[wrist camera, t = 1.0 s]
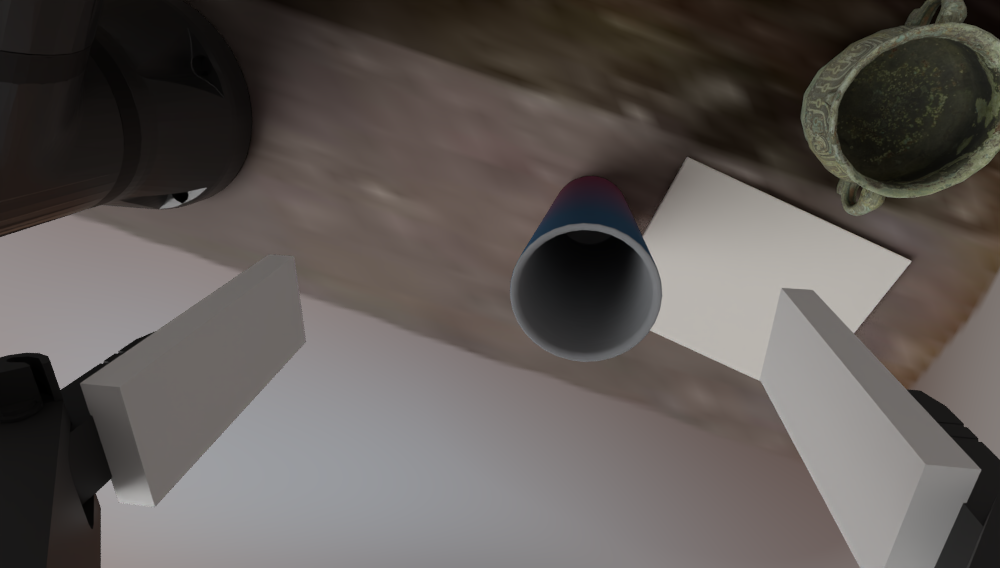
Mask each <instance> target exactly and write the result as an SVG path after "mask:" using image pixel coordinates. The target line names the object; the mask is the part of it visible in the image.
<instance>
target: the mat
mask: <svg viewBox="0 0 1000 568" xmlns="http://www.w3.org/2000/svg"><path fill="white" fill-rule="evenodd" d="M642 237H643V239H644V241H645V243H646V245H647V247H648V249H649V252H650V254H651V256H652V258H653V260H654V262H655V264H656V267H657V269H658V272H659V276H660V279H661V285H662V300H661V307H660V311H659V314H658V316H657V319H656V321H655V323H654V325H653V326H652V328H651V329H650V331H652V332H654V333H657V334H659V335H661V336H663V337H665V338H668V339H670V340H672V341H674V342H676V343H678V344H681V345H683V346H685V347H687V348H689V349H691V350H694V351H696V352H698V353H700V354H702V355H704V356H707V357H709V358H711V359H713V360H715V361H718V362H720V363H722V364H724V365H726V366H728V367H731V368H733V369H735V370H737V371H739V372H741V373H744V374H746V375H748V376H750V377H752V378H754V379H757V380H759V381H760V377H761V372H762V368H763V364H764V360H765V355H766V351H767V347H768V343H769V338H770V334H771V330H772V326H773V321H774V317H775V313H776V309H777V304H778V300H779V296H780V292H781V288H792V289H807V290H813V291H814V292H815V293H816V294H817V295H818V296H819V297H820V298H821V299H822V300H823V301H824V302H825V303H826V304H827V305H828V307H829V308H830V309H831V310H832V311H833V312H834V313H835V314H836V315H837V316H838V317H839V318H840V319H841V320H842V321H843V323H844V324H845V325H846V326H847V327H848V328H849V329H850V330H851V331H852V332H853V333H855V331H856V330H857V329H858V328H859V326H860V325H861V324H862V323H863V321H864V320H865V319H866V318H867V316H868V315H869V314H870V313H871V311H872V310H873V309H874V308H875V306H876V305H877V304H878V303H879V301H880V300H881V299H882V298H883V296H884V295H885V294H886V293H887V291H888V290H889V289H890V288H891V286H892V285H893V284H894V283H895V281H896V280H897V279H898V278H899V277H900V275H901V274H902V273H903V272H904V270H905V269H906V268H907V267H908V265H909V264H910V263H911V262H912V261H911V260H909V259H907V258H905V257H903V256H901V255H899V254H896V253H894V252H892V251H890V250H888V249H886V248H884V247H881V246H879V245H877V244H875V243H873V242H871V241H868V240H866V239H864V238H862V237H860V236H858V235H855V234H853V233H851V232H849V231H847V230H845V229H842V228H840V227H838V226H836V225H834V224H832V223H829V222H827V221H825V220H823V219H821V218H819V217H817V216H814V215H812V214H810V213H808V212H806V211H804V210H801V209H799V208H797V207H795V206H793V205H791V204H788V203H786V202H784V201H782V200H780V199H778V198H775V197H773V196H771V195H769V194H767V193H765V192H763V191H760V190H758V189H756V188H754V187H752V186H750V185H747V184H745V183H743V182H741V181H739V180H737V179H734V178H732V177H730V176H728V175H726V174H724V173H721V172H719V171H717V170H715V169H713V168H711V167H708V166H706V165H704V164H702V163H700V162H698V161H696V160H693V159H691V158H689V157H686V159H685V161H684V163H683V164H682V166H681V168H680V170H679V172H678V173H677V175H676V177H675V179H674V180H673V182H672V184H671V186H670V188H669V189H668V191H667V193H666V195H665V196H664V198H663V200H662V202H661V204H660V205H659V207H658V209H657V211H656V212H655V214H654V216H653V218H652V220H651V221H650V223H649V225H648V227H647V228H646V230H645V232H644V234H643V236H642Z"/></svg>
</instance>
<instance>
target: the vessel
mask: <svg viewBox="0 0 1000 568" xmlns="http://www.w3.org/2000/svg"><path fill="white" fill-rule="evenodd" d="M940 5H941V10H940V12H939V14H938V16H937V19H936V22H935V24H930V22H931V19H932V17H933V15H934V13H935V12H936V10H937V8H938V7H939V6H940ZM966 16H967V8H966V5H965V3H964V1H963V0H927V1H926V2H925V3H924V4H923V5H922V7H921V8H920V9H919V8H918V9H914V10H913V11H912V12H911V13H910V15H909V16H908V18H907V20H906V22H905V25H904V26H899V27H894V28H890V29H884V30H881V31H878V32H876V33H874V34H872V35H870V36H867V37H865V38H863V39H861V40H859V41H856V42H854V43H852V44H850V45H849V46H848V47H847V48H846V49H845V50H843V51H842V52H841V53H840V54H838V55H837V56H836V57H835V58H833V59H832V60H831V61H830V62H828V63H827V64H826V65H825V66H824V67H822V68H821V69H820V70H819V71H818V72H817V73H816V75H815V77H814V78H813V80H812V81H811V83H810V85H809V86H808V88H807V90H806V91H805V93H804V97H803V103H802V110H801V116H800V118H801V122H802V126H803V130H804V135H805V138H806V140H807V141H808V144H809V148H810V149H811V150H812V151H813V153H814V154H815V155H816V157H817V158H818V159H819V160H820V162H821V163H822V164H823V166H824V167H825V168H826V169H827V170H828V171H829V172H831V173H832V174H834V175H835V176H837V177H838V178H840V179H839V182H838V184H837V193H838V194H840V195H841V201H842V205H843V208H844V210H845V211H846V212H847V213H849V214H851V215H854V216H860V215H863V214H866V213H868V212H870V211H873V210H875V209H877V208H879V207H880V206H881V205H882V204H883V203H884V200H885V197H886V196H887V197H894V198H911V197H919V196H925V195H930V194H933V193H936V192H938V191H941V190H943V189H946V188H948V187H951V186H953V185H956V184H958V183H960V182H963V181H964V180H966V179H967V178H969V177H970V176H971V175H973V174H974V173H976V172H977V171H979V170H980V169H981V168H983V167H984V166H986V165H987V164H988V163H989V162H990V161H991V160H992V158H993V157H994V156H995V155H996V154H997V153H998V151H999V150H1000V40H999V39H997V38H996V37H995V36H994V35H992V34H991V33H989V32H987V31H985V30H983V29H981V28H979V27H977V26H973V25H969V24H965V23H963V22H964V20H965V18H966ZM929 24H930V25H929ZM859 186H861V187H863V189H862V192H861V195H860V197H859V200H858V202H857V203H856V192H857V190H858V188H859Z"/></svg>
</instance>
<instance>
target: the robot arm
mask: <svg viewBox="0 0 1000 568" xmlns="http://www.w3.org/2000/svg"><path fill="white" fill-rule="evenodd" d="M251 129H252V116H251V105H250V99H249V94H248V90H247V87H246V83H245V80H244V77H243V75H242V72H241V70H240V67H239V65H238V63H237V61H236V59H235V57H234V55H233V53H232V52H231V50H230V48H229V47H228V45H227V44H226V42H225V41H224V39H223V38H222V37H221V35H220V34H219V33H218V32H217V30H216V29H215V28H214V27H213V26H212V25H211V24H210V23H209V22H208V21H207V20H206V19H205V18H204V17H203V16H202V15H201V14H200V13H199V12H197V11H196V10H195V9H194V8H192V7H191V6H190V5H188V4H187V3H185V2H184V1H182V0H0V237H2V236H5V235H8V234H11V233H14V232H17V231H21V230H23V229H27V228H30V227H33V226H36V225H39V224H42V223H45V222H49V221H52V220H55V219H58V218H61V217H65V216H68V215H71V214H74V213H77V212H80V211H83V210H86V209H89V208H93V207H96V206H99V205H108V206H121V207H134V208H147V209H172V208H179V207H183V206H186V205H189V204H192V203H195V202H198V201H201V200H204V199H206V198H209V197H211V196H213V195H215V194H216V193H218V192H219V191H221V190H222V189H224V188H225V187H226V186H227V185H228V184H229V183H230V182H231V181H232V180H233V179H234V177H235V176H236V175H237V173H238V172H239V170H240V168H241V166H242V165H243V162H244V160H245V158H246V155H247V152H248V148H249V144H250V138H251ZM305 342H306V340H305V331H304V324H303V317H302V309H301V302H300V294H299V287H298V279H297V272H296V265H295V257H294V256H285V255H267V256H266V257H264V258H263V259H261V260H260V261H258V262H257V263H255V264H254V265H253V266H251V267H250V268H248V269H247V270H245V271H244V272H242V273H241V274H239V275H238V276H237V277H235V278H233V279H232V280H231V281H229V282H228V283H226V284H225V285H223V286H222V287H220V288H219V289H217V290H216V291H214V292H213V293H211V294H210V295H209V296H207V297H206V298H204V299H203V300H201V301H200V302H198V303H197V304H195V305H194V306H192V307H191V308H190V309H188V310H187V311H185V312H184V313H182V314H181V315H179V316H178V317H176V318H175V319H173V320H172V321H170V322H169V323H168V324H166V325H165V326H163V327H162V328H160V329H159V330H158V331H155V332H153V333H150V334H148V335H146V336H144V337H141V338H139V339H136V340H135V341H133V342H132V343H130V344H129V345H127V346H126V347H124V348H123V349H121V350H120V351H119V353H118V354H114V355H112V356H111V357H109V358H108V359H106V360H105V361H104V363H103V364H99V365H97V366H96V367H94V368H93V369H91V370H90V371H88V372H87V373H85V374H84V375H82V376H81V377H79V378H78V379H76V380H75V381H73V382H72V383H70V384H69V385H68V386H66V387H65V388H63V389H61V390H60V388H59V385H58V382H57V380H56V377H55V374H54V371H53V368H52V365H51V362H50V360H49V358H48V356H45V355H42V354H40V353H22V354H14V355H8V356H4V357H1V358H0V568H101V566H100V565H101V564H100V563H101V558H100V557H101V556H100V555H101V553H100V552H101V549H100V548H101V546H100V545H101V542H100V541H101V508H100V505H99V501H98V499H97V496H96V492H97V491H98V490H99V489H100V488H102V486H104V485H105V484H106V483H107V482H108V481H109V480H110V479H111V480H112V483H113V486H114V489H115V492H116V496H117V498H118V502H119V503H126V504H134V505H143V506H151V507H155V506H156V505H157V504H158V503H159V502H160V501H161V500H162V499H163V498H164V497H165V495H166V494H167V493H168V492H169V491H170V490H171V489H172V488H173V487H174V485H175V484H176V483H177V482H178V481H179V480H180V479H181V478H182V477H183V476H184V475H185V473H186V472H187V471H188V470H189V469H190V468H191V467H192V466H193V465H194V464H195V463H196V462H197V460H198V459H199V458H200V457H201V456H202V455H203V454H204V453H205V452H206V451H207V449H208V448H209V447H210V446H211V445H212V444H213V443H214V442H215V441H216V440H217V439H218V437H219V436H220V435H221V434H222V433H223V432H224V431H225V430H226V429H227V428H228V426H229V425H230V424H231V423H232V422H233V421H234V420H235V419H236V418H237V416H239V414H240V413H241V412H242V411H243V410H244V409H245V408H246V407H247V406H248V405H249V404H250V402H251V401H252V400H253V399H254V398H255V397H256V396H257V395H258V394H259V393H260V391H261V390H262V389H263V388H264V387H265V386H266V385H267V384H268V383H269V382H270V380H271V379H272V378H273V377H274V376H275V375H276V374H277V373H278V372H279V371H280V370H281V369H282V367H283V366H284V365H285V364H286V363H287V362H288V361H289V360H290V359H291V358H292V356H293V355H294V354H295V353H296V352H297V351H298V350H299V349H300V348H301V347H302V345H303V344H304V343H305ZM760 381H761V382H762V384H763V386H764V388H765V390H766V392H767V394H768V396H769V398H770V399H771V401H772V403H773V405H774V407H775V409H776V411H777V413H778V414H779V416H780V418H781V420H782V422H783V424H784V426H785V428H786V430H787V431H788V433H789V435H790V437H791V439H792V441H793V443H794V445H795V446H796V448H797V450H798V452H799V454H800V456H801V458H802V460H803V461H804V463H805V465H806V467H807V469H808V471H809V472H810V475H811V476H812V478H813V480H814V482H815V484H816V486H817V488H818V490H819V492H820V493H821V495H822V497H823V499H824V501H825V503H826V505H827V506H828V508H829V510H830V512H831V514H832V516H833V518H834V520H835V522H836V524H837V525H838V527H839V529H840V531H841V533H842V535H843V537H844V539H845V540H846V542H847V544H848V546H849V548H850V550H851V552H852V553H853V556H854V557H855V559H856V561H857V563H858V565H859V567H860V568H1000V460H999V459H998V458H997V457H996V456H995V455H994V454H993V453H992V452H991V451H990V450H989V449H988V448H987V447H986V446H985V445H984V444H983V443H982V442H978V438H977V437H976V436H975V435H974V434H973V433H972V432H971V431H970V430H969V429H968V428H967V427H964V426H963V425H964V424H963V423H962V422H961V421H960V420H959V419H958V418H957V417H956V416H955V415H954V414H953V413H952V412H951V411H950V410H949V409H948V408H947V407H946V406H945V405H943V404H941V403H940V402H938V401H936V400H935V399H933V398H932V397H930V396H928V395H927V394H925V393H923V392H922V391H918V390H906V389H905V388H904V387H903V386H902V384H901V383H900V382H899V381H898V380H897V379H896V378H895V377H894V376H893V375H892V374H891V373H890V372H889V371H888V370H887V368H886V367H885V366H884V365H883V364H882V363H881V362H880V361H879V360H878V359H877V358H876V357H875V356H874V355H873V354H872V352H871V351H870V350H869V349H868V348H867V347H866V346H865V345H864V344H863V343H862V342H861V341H860V340H859V339H858V338H857V336H856V335H855V334H854V333H853V332H852V331H851V330H850V329H849V328H848V327H847V326H846V325H845V324H844V323H843V321H842V320H841V319H840V318H839V317H838V316H837V315H836V314H835V313H834V312H833V311H832V310H831V309H830V308H829V307H828V305H827V304H826V303H825V302H824V301H823V300H822V299H821V298H820V297H819V296H818V295H817V294H816V293H815V292H814V291H813V290H807V289H792V288H781V292H780V296H779V300H778V304H777V309H776V313H775V317H774V321H773V326H772V330H771V334H770V338H769V343H768V347H767V351H766V355H765V360H764V364H763V368H762V372H761V377H760Z"/></svg>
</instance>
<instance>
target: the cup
mask: <svg viewBox="0 0 1000 568" xmlns="http://www.w3.org/2000/svg"><path fill="white" fill-rule="evenodd" d="M510 298H511V304H512V309H513V312H514V314H515V317H516V319H517V321H518V323H519V325H520V326H521V328H522V329H523V331H524V332H525V333H526V334H527V335H528V337H529V338H530V339H531V340H532V341H533V342H534V343H536V344H537V345H538V346H540V347H541V348H543V349H544V350H545V351H548V352H550V353H552V354H554V355H556V356H558V357H562V358H565V359H569V360H574V361H583V362H589V361H601V360H605V359H609V358H613V357H615V356H618V355H620V354H622V353H625V352H627V351H628V350H629V349H631V348H632V347H634V346H635V345H637V344H638V343H639V342H640V341H641V340H642V339H643V338H644V337H645V336H646V335H647V334H648V332H649V331H650V329H651V328H652V326H653V325H654V323H655V321H656V319H657V316H658V314H659V311H660V307H661V300H662V285H661V279H660V276H659V272H658V269H657V267H656V264H655V262H654V260H653V258H652V256H651V254H650V252H649V249H648V247H647V245H646V243H645V241H644V239H643V237H642V234H641V232H640V230H639V228H638V226H637V224H636V222H635V219H634V217H633V215H632V213H631V211H630V209H629V207H628V204H627V202H626V200H625V198H624V196H623V194H622V193H621V191H620V190H619V189H618V187H617V186H616V185H614V184H613V183H612V182H610V181H608V180H606V179H604V178H601V177H597V176H586V177H581V178H578V179H575V180H573V181H572V182H570V183H568V184H567V185H566V186H565V187H564V188H563V189H562V190H561V192H560V193H559V194H558V196H557V198H556V199H555V201H554V203H553V204H552V206H551V207H550V209H549V211H548V212H547V214H546V215H545V217H544V219H543V220H542V222H541V224H540V225H539V227H538V228H537V230H536V232H535V233H534V235H533V237H532V238H531V240H530V241H529V243H528V245H527V246H526V248H525V249H524V251H523V253H522V254H521V256H520V258H519V260H518V262H517V264H516V266H515V268H514V271H513V275H512V278H511V284H510Z"/></svg>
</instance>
